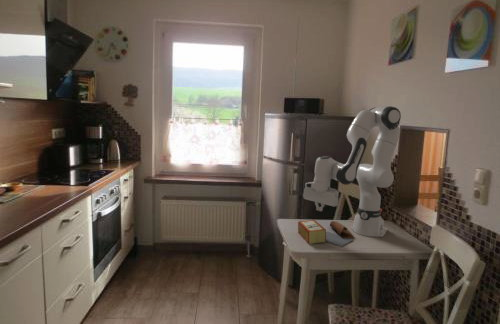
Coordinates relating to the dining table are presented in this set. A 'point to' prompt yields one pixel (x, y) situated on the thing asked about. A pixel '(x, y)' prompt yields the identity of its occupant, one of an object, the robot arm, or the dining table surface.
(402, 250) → the dining table surface
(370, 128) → the robot arm
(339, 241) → the mat
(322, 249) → the dining table surface
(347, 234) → the sunglasses case
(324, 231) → the baking soda box
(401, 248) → the dining table surface
